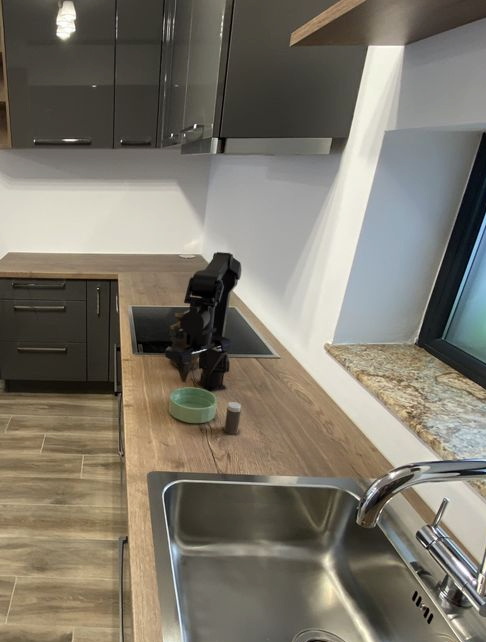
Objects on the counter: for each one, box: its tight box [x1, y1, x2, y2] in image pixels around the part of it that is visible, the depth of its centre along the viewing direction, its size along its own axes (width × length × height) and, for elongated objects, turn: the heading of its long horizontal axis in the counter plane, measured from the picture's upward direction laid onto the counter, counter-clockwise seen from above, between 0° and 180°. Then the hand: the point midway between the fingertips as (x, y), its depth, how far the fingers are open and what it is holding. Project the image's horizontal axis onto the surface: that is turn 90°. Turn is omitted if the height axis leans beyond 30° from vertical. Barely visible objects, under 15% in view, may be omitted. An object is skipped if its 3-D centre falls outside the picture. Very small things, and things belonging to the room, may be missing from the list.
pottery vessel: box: [169, 310, 200, 371], centre depth 156 cm, size 25×11×20 cm, turn 164°
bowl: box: [168, 386, 218, 424], centre depth 127 cm, size 13×13×5 cm
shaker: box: [223, 401, 242, 436], centre depth 118 cm, size 4×4×8 cm
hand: (196, 377), depth 120 cm, fingers open, 9 cm apart
